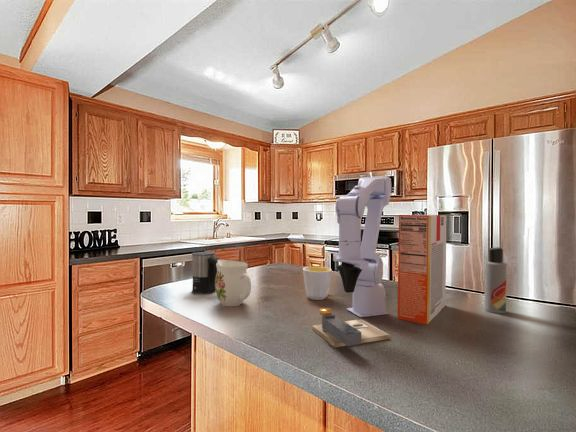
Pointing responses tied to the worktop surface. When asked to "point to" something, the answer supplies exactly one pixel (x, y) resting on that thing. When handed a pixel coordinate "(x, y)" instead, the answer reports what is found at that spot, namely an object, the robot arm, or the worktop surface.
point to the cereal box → (421, 267)
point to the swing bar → (339, 328)
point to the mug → (317, 282)
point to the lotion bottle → (495, 282)
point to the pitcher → (232, 282)
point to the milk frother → (204, 272)
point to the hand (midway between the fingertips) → (349, 291)
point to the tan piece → (366, 329)
